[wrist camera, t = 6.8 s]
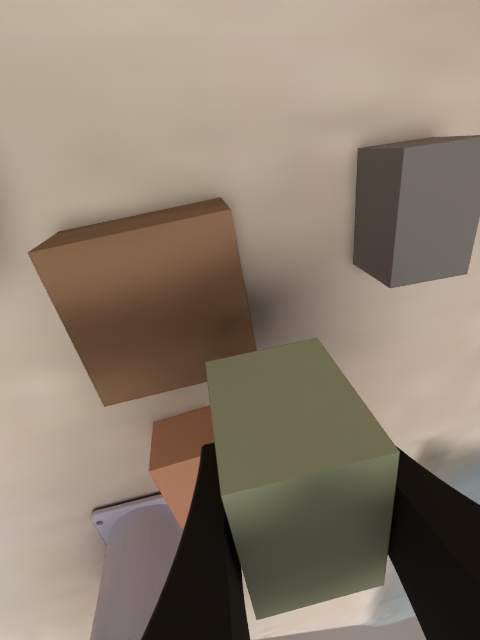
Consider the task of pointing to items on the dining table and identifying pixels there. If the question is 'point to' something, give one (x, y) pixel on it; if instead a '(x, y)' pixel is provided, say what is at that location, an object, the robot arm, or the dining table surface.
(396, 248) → the charcoal brick
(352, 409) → the sage brick
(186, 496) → the terracotta brick
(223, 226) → the walnut block
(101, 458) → the dining table surface
